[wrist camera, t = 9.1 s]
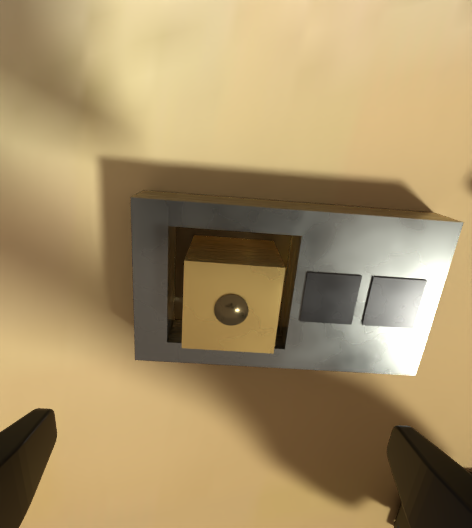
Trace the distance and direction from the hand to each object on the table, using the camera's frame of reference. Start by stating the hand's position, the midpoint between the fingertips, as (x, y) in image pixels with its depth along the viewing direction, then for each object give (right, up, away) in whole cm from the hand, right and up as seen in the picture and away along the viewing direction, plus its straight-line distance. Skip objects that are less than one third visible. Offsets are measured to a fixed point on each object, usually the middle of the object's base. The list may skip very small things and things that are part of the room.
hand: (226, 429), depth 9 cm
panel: (+3, +4, +11) cm, 12 cm away
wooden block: (0, +4, +11) cm, 12 cm away
